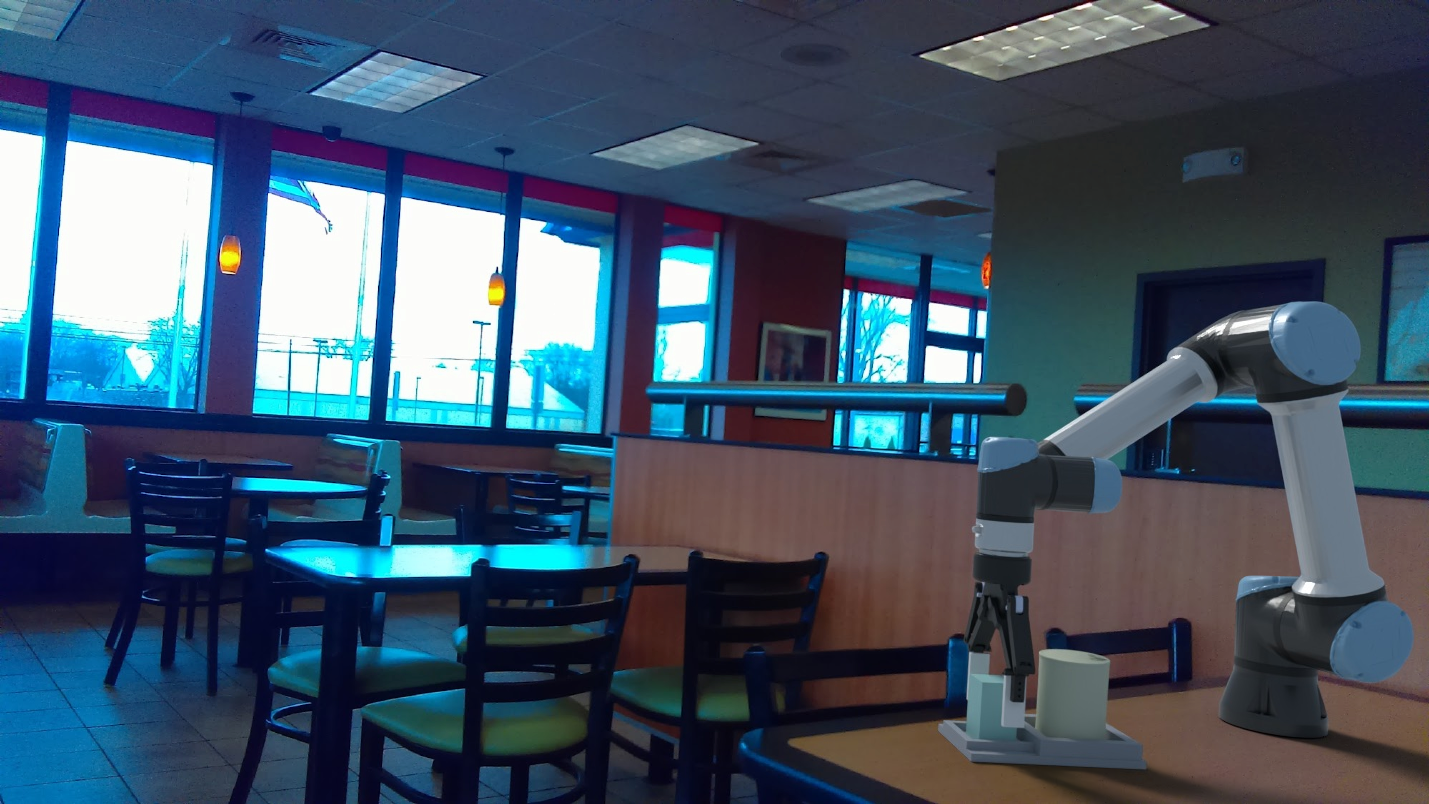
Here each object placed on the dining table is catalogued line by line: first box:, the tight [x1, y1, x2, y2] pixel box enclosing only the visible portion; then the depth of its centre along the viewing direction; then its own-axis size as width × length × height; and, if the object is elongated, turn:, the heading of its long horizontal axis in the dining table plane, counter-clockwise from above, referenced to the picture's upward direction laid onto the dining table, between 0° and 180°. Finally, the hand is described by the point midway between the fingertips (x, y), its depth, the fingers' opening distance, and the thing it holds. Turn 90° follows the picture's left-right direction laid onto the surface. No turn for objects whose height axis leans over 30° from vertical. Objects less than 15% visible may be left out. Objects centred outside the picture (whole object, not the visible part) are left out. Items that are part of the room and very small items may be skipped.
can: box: [1035, 648, 1111, 740], centre depth 145 cm, size 9×9×12 cm
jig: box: [937, 713, 1148, 770], centre depth 144 cm, size 23×14×3 cm, turn 95°
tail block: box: [966, 674, 1017, 741], centre depth 144 cm, size 5×5×8 cm
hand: (993, 713), depth 144 cm, fingers open, 13 cm apart
